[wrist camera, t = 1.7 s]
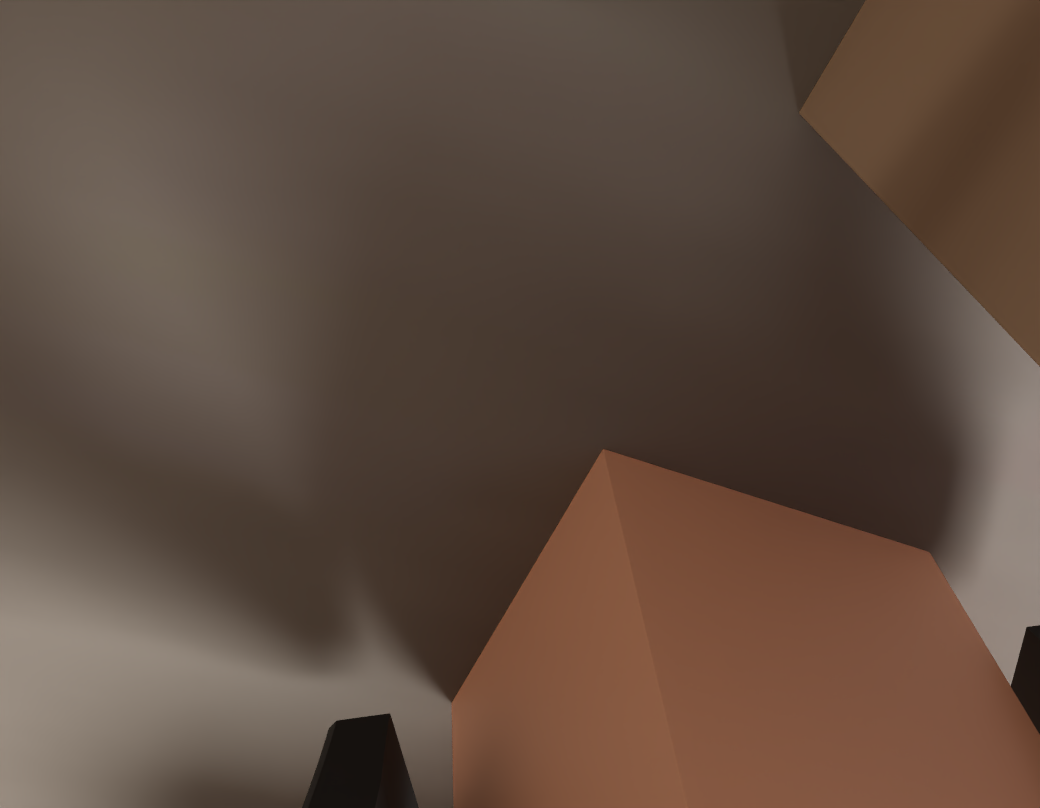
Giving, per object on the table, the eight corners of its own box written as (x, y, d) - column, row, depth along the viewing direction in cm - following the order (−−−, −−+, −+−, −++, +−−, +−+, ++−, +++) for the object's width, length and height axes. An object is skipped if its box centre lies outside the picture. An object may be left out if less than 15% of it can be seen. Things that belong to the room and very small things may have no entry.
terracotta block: (927, 547, 12) (1146, 911, 8) (739, 761, 14) (846, 1124, 11) (601, 444, 11) (691, 821, 7) (451, 698, 13) (458, 1084, 9)
